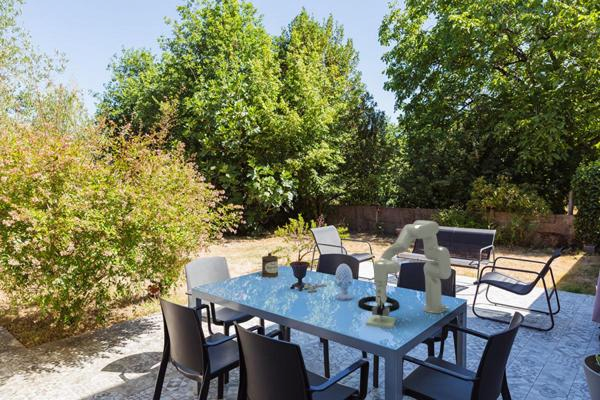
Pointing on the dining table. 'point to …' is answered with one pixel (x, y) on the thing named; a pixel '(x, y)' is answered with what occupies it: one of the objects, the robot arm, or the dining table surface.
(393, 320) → the keeper board
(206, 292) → the dining table surface
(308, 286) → the pulley system
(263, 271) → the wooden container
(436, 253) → the robot arm
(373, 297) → the cable lock
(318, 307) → the dining table surface
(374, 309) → the grey rectangular frame
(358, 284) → the dining table surface
